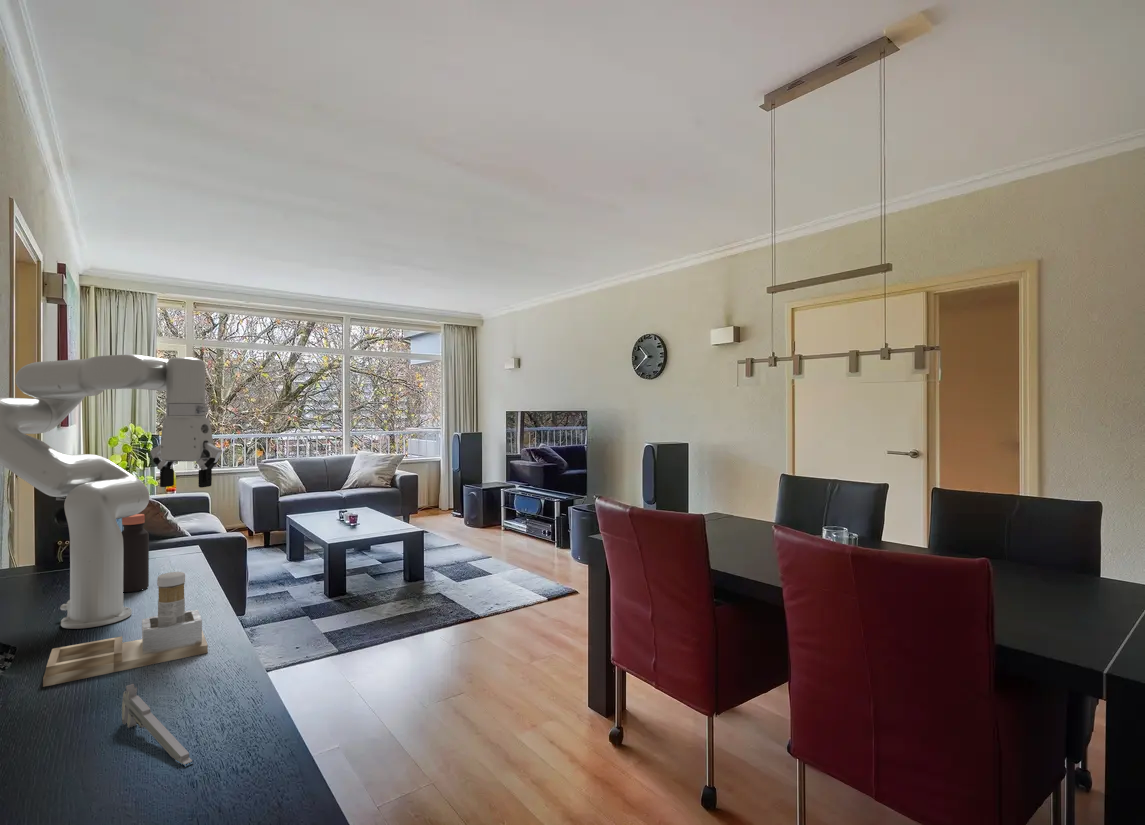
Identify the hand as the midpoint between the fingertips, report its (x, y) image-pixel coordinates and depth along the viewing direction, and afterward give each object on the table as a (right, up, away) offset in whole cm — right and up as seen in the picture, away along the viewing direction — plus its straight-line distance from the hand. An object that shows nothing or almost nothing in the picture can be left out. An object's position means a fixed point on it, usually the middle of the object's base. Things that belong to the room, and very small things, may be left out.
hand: (185, 486), depth 135 cm
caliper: (+30, -30, -52) cm, 67 cm away
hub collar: (+9, -29, -18) cm, 35 cm away
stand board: (+4, -30, -22) cm, 38 cm away
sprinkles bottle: (+9, -29, -18) cm, 35 cm away
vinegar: (-30, -31, +25) cm, 50 cm away
